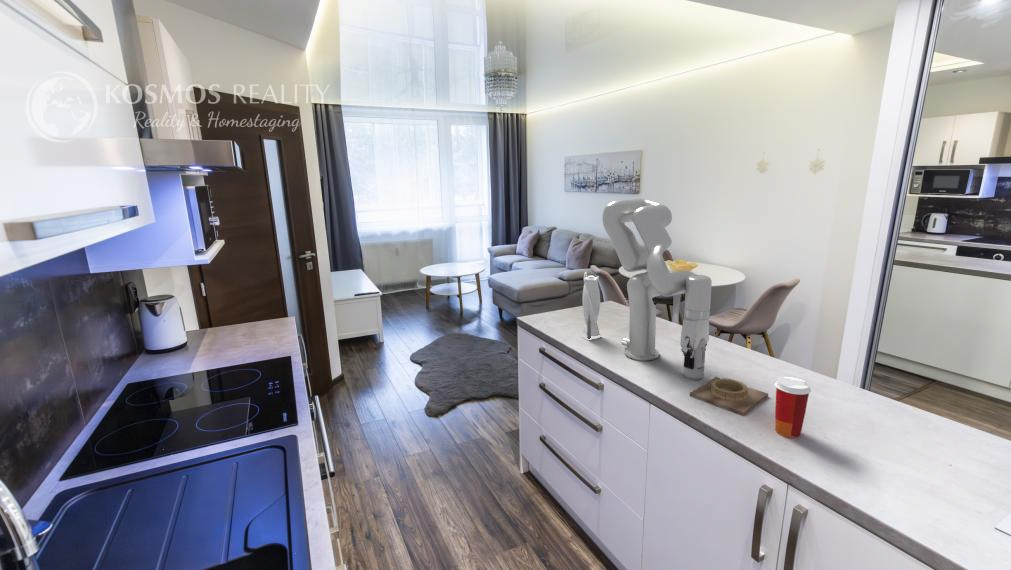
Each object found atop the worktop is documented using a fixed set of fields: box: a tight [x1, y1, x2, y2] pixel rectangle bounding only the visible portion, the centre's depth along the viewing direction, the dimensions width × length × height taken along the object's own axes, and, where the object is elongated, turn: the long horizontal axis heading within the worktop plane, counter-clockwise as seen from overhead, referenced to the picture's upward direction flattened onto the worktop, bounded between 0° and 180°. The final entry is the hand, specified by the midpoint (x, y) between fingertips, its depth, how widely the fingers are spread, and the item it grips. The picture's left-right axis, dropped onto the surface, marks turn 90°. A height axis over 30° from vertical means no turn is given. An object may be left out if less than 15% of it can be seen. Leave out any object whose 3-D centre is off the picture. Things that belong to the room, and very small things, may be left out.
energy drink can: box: [683, 338, 706, 381], centre depth 146 cm, size 6×6×15 cm
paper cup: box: [774, 376, 812, 439], centre depth 113 cm, size 8×8×14 cm
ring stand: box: [689, 376, 769, 416], centre depth 133 cm, size 16×16×4 cm
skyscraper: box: [581, 271, 601, 339], centre depth 186 cm, size 8×8×28 cm
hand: (694, 364), depth 146 cm, fingers closed on energy drink can, 6 cm apart
